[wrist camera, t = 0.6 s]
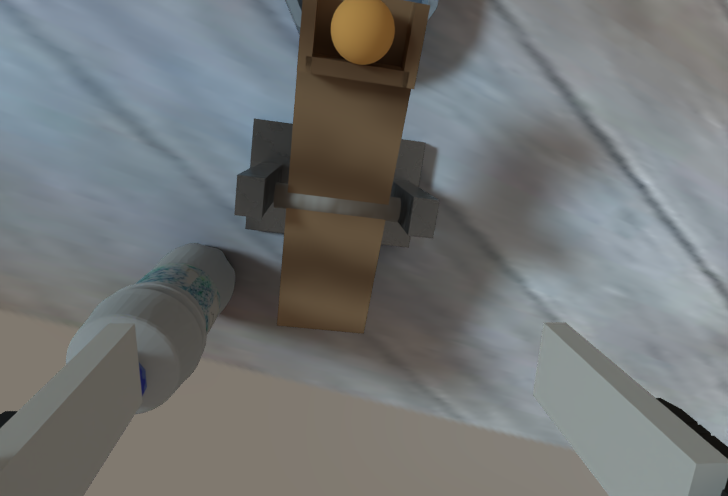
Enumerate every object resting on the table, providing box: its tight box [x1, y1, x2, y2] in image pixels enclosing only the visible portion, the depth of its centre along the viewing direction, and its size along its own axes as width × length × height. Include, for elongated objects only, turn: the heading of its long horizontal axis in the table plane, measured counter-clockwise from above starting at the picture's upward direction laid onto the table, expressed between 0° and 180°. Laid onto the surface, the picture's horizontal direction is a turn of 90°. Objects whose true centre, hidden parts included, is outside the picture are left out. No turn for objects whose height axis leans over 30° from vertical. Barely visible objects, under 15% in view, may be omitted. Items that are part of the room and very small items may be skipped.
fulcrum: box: [235, 119, 440, 248], centre depth 34 cm, size 9×14×12 cm, turn 82°
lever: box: [274, 0, 430, 334], centre depth 31 cm, size 22×8×8 cm, turn 172°
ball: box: [331, 0, 395, 65], centre depth 23 cm, size 3×3×3 cm
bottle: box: [66, 243, 236, 414], centre depth 31 cm, size 7×7×20 cm
